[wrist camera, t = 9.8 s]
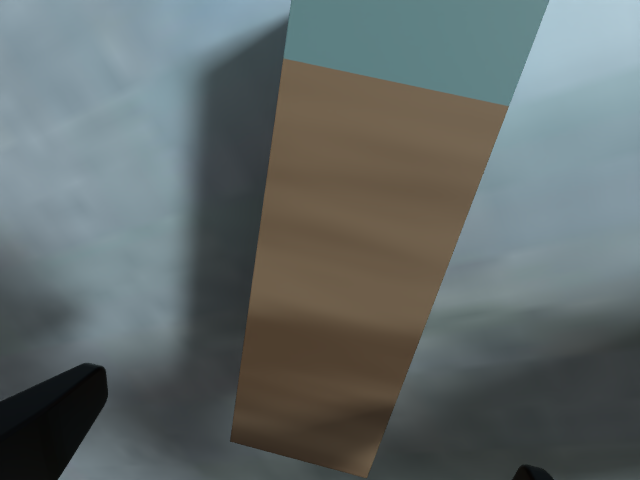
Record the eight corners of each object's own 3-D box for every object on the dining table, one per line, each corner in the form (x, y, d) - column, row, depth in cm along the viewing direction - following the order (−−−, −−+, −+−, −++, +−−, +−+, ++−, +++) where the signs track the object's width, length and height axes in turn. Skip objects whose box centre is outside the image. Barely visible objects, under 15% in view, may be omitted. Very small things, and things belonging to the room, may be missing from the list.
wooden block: (366, 477, 11) (557, -20, 6) (230, 441, 11) (300, -69, 6) (368, 375, 15) (483, 25, 10) (267, 350, 15) (329, -6, 10)
